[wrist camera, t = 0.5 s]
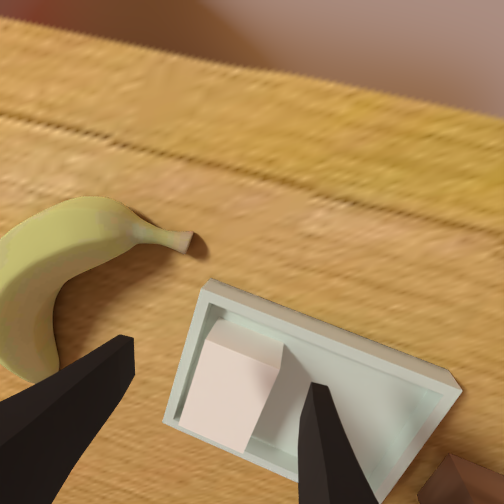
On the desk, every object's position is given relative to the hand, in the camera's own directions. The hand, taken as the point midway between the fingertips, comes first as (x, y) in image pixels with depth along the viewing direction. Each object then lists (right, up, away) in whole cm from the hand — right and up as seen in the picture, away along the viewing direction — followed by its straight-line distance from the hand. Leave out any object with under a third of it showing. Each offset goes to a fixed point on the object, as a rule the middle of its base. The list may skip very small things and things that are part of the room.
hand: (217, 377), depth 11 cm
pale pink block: (0, -4, +11) cm, 12 cm away
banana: (-11, +2, +13) cm, 17 cm away
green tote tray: (+5, -6, +11) cm, 14 cm away
